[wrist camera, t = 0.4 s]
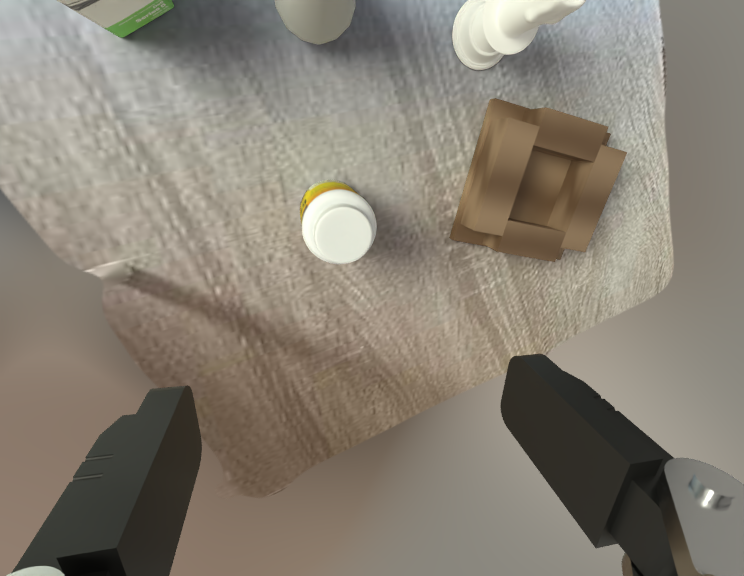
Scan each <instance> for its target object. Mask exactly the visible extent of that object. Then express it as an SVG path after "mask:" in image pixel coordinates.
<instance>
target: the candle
mask: <svg viewBox="0 0 744 576" xmlns="http://www.w3.org/2000/svg"><path fill="white" fill-rule="evenodd" d="M585 1H586V0H468V1H467V2H466V3H465V4H464V5H463V6H462V7H461V9H460V10H459V12H458V14H457V16H456V18H455V21H454V25H453V31H452V39H453V46H454V49H455V52H456V54H457V56H458V58H459V59H460V60H461V62H462V63H463V64H464V65H466V66H467V67H469V68H471V69H475V70H485V69H488V68H490V67H492V66H494V65H495V64H496V63H498V62H499V61H500V60H501V58H502V57H503V56H504V54H505V55H512V54H516V53H518V52H520V51H522V50H524V49H525V48H526V47H527V46H528V45H529V44H530V43H531V42H532V40H533V39H534V37H535V35H536V33H537V31H538V28H539V26H540V25H542V24H556V23H557V22H559V21H560V20H562V19H563V18H564V17H565V16H567V15H568V14H570V13H572V12H574V11H576V10H577V9H579V8H580V7H581V6H582V5H583V4H584V3H585Z"/></svg>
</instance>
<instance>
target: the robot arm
mask: <svg viewBox="0 0 744 576" xmlns="http://www.w3.org/2000/svg"><path fill="white" fill-rule="evenodd" d="M501 413H502V417H503V420H504V423H505V424H506V426H507V428H508V429H509V430H510V432H511V433H512V434H513V436H514V437H515V439H516V440H517V441H518V443H519V444H520V445H521V447H522V448H523V449H524V451H525V452H526V453H527V455H528V456H529V458H530V459H531V460H532V462H533V463H534V465H535V466H536V467H537V469H538V470H539V471H540V473H541V474H542V475H543V477H544V478H545V479H546V481H547V482H548V484H549V485H550V486H551V488H552V489H553V490H554V492H555V493H556V494H557V496H558V497H559V498H560V500H561V501H562V503H563V504H564V505H565V507H566V508H567V510H568V511H569V512H570V514H571V515H572V516H573V518H574V519H575V520H576V522H577V523H578V525H579V526H580V527H581V529H582V530H583V531H584V533H585V534H586V535H587V537H588V538H589V539H590V541H591V542H592V543H593V545H594V546H595V548H599V547H603V546H609V545H613V544H619V545H620V546H621V548H622V549H623V550H624V551H625V553H624V556H623V558H622V572H623V576H744V484H742V483H741V482H740V481H738V480H737V479H735V478H734V477H733V476H731V475H729V474H728V473H726V472H724V471H722V470H720V469H718V468H716V467H714V466H712V465H710V464H707V463H704V462H701V461H698V460H694V459H689V458H673V457H672V456H671V455H670V454H669V453H667V452H666V451H665V450H664V449H662V448H661V447H660V446H659V445H658V444H657V443H656V442H654V441H653V440H652V439H651V438H650V437H648V436H647V435H646V434H645V433H644V432H643V431H641V430H640V429H639V428H638V427H637V426H635V425H634V424H633V423H632V422H631V421H630V420H628V419H627V418H626V417H625V416H624V415H623V414H621V413H620V412H619V411H615V409H614V407H613V406H612V405H611V404H610V403H608V402H607V401H606V400H605V399H601V396H600V395H599V394H598V393H596V391H594V390H593V389H592V388H591V387H590V386H588V385H587V384H586V383H585V382H583V381H582V380H580V379H578V378H576V377H574V376H572V375H570V374H568V373H567V372H565V371H562V370H561V369H560V368H559V367H558V366H557V365H556V364H554V363H553V362H552V361H551V360H550V359H549V358H548V357H546V356H545V355H543V354H533V355H522V356H514V357H512V358H511V360H510V362H509V365H508V370H507V375H506V380H505V385H504V390H503V395H502V399H501ZM201 451H202V444H201V435H200V429H199V424H198V419H197V414H196V409H195V404H194V398H193V393H192V390H191V388H190V387H189V386H178V387H167V388H156V389H151V390H150V391H149V392H148V394H147V395H146V397H145V399H144V401H143V402H142V404H141V406H140V408H139V410H138V412H137V413H136V414H133V415H124V416H122V417H120V418H119V419H118V420H117V421H116V422H115V423H114V424H112V425H111V426H110V427H109V428H108V429H106V430H105V431H104V432H103V433H102V434H101V435H100V436H99V437H98V439H97V440H96V442H95V444H94V445H93V447H92V448H91V450H90V451H89V453H88V455H87V456H86V461H85V462H82V464H81V465H80V467H79V469H78V470H77V472H76V473H75V475H74V476H73V481H72V482H70V483H69V484H68V486H67V488H66V489H65V491H64V492H63V494H62V495H61V497H60V498H59V500H58V501H57V503H56V505H55V506H54V508H53V509H52V511H51V513H50V514H49V516H48V517H47V519H46V520H45V522H44V523H43V525H42V527H41V528H40V530H39V532H38V533H37V534H36V536H35V538H34V539H33V541H32V542H31V544H30V546H29V547H28V549H27V550H26V552H25V553H24V555H23V556H22V558H21V559H20V561H19V563H18V564H17V566H16V567H15V568H14V570H13V572H12V573H11V574H9V575H6V576H169V574H170V570H171V567H172V563H173V560H174V556H175V552H176V549H177V545H178V542H179V538H180V535H181V531H182V527H183V523H184V520H185V517H186V513H187V509H188V506H189V502H190V498H191V494H192V491H193V488H194V484H195V480H196V477H197V473H198V470H199V466H200V461H201Z"/></svg>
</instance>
